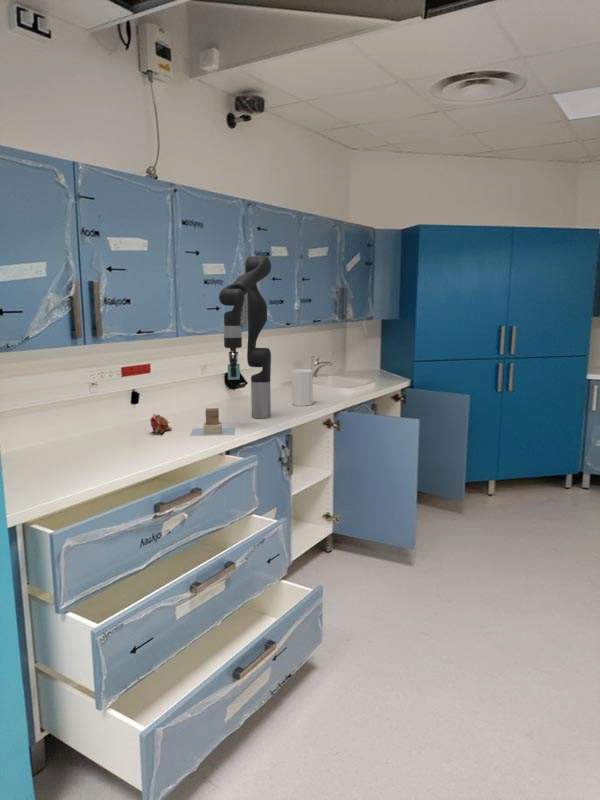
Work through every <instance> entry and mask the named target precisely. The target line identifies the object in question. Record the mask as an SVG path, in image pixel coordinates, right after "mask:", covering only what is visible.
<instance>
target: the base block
mask: <svg viewBox="0 0 600 800" xmlns="http://www.w3.org/2000/svg"><path fill="white" fill-rule="evenodd" d="M222 425H223V424H222V421H219V424H218V425H206V421H204V423H203V428H204V435H208V436H211V435H210V434H221V432H222V428H223V426H222Z"/></svg>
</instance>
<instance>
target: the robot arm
mask: <svg viewBox="0 0 600 800" xmlns="http://www.w3.org/2000/svg"><path fill="white" fill-rule="evenodd" d="M244 265H245V273H244V274H241V275H240V276H239V277H237V279H235V280H234V282H233V283H231V284H228V285H226V286H225V287H223V288H222V289H221V290H220V293H219V295H218V300H219V302H220V304H221V305H223V306H226V307H227V306H230V307H232V306H233V308H232V310H228V311H226V312H224V314H223V323H224V324H223V325H224V326H223V327H224V328H223V345H224V346H223V347H224V348H225V349H229V350H230V351H228V357H229V358H228V362H229V363H228V364H230V367H231V377H236V367H237V365H236V364H238V361H239V360H238V357H239V352H238V351H237V349H241V348H242V346H243V342H242V341H243V340H242V339H243V337H242V336H243V335H242V333H243V331H242V319H241V318H242V312H243V311H242V310H243V307H244V304H245V295H246V294H247V297H246V298H247V311H246V312H247V350H246V351H247V352H246V353H247V355H246V358H247V359H246V361H247V365H248V366H249V367H250V368H262V369H261V370H260V372H258V373H255V374H253V375H251V377H250V392H251V393H250V394H251V397H250V399H251V418H253V419H268V418H271V417H272V414H271V413H272V409H271V407H272V405H271V404H272V401H271V400H272V397H271V396H272V395H271V393H272V392H271V373H272V372H271V370H272V367H271V366H272V362H271V361H272V352H271V350H270V348H268V347H257V340H258V337H259V336H260V334H261V331H262V330H263V329H264V326H265V325H266V324H267V322H268V305H267V302H266V300H265V298H264V297H263V296H262V293H261V292H260V290H259V288H258V285H257V283H259V282H260V281H261V280H263V279H265V278H266V277H267V276H269V275H270V273H271V269H272V263H271V260H270V258H269V257H268V256H263V255H260V256H257V255H256V256H248V257H246V260H245V264H244Z"/></svg>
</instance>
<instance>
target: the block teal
mask: <svg viewBox="0 0 600 800" xmlns="http://www.w3.org/2000/svg"><path fill="white" fill-rule="evenodd" d="M236 365H237V367H236V377H231V367H230V363H227V380H228V381H229V380H230V381H232V380H234V381H235V380H237V381H238V380H241V375H240V374H241V371H240V370H241V369H240V368H241V367H240V363H237V364H236Z"/></svg>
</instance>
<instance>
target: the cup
mask: <svg viewBox="0 0 600 800" xmlns="http://www.w3.org/2000/svg"><path fill="white" fill-rule="evenodd" d="M313 372H314V371H313V370H312V369H308V368H307V369H306V368H305V369H303V368H302V369H301V368H300V369H292V370H291V404H292V405H293V404H294V405H300V406H299V407H307V406H306V405H310V406H312V405H314V404H313V403H314V401H313V399H314V395H313V393H314V391H313V390H314V387H313V385H314V384H313V383H314V375H313V374H314V373H313ZM294 405H293V406H294Z"/></svg>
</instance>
